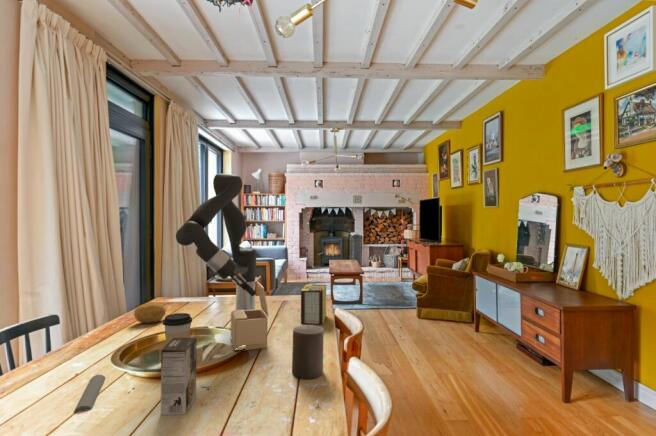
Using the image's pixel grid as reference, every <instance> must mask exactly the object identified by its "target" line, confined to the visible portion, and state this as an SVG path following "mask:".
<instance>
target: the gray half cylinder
mask: <svg viewBox="0 0 656 436" xmlns="http://www.w3.org/2000/svg"><path fill="white" fill-rule="evenodd" d="M105 380H106V377H105V376H104V375H103V374H95V375H93V376H92V377H91V378H90V380H89V381H88V383H87V385H86V387H85V389H84V390H83V393H82V395H81V397H80V398H79V401H78V403H77V405H76V406H75V409H74V410H73V413H75V412H82V411H86V410H87V411H88V410H92V409H93V408H94V406H95V404H96V401H97V399H98V396H99V394H100V392H101V390H102V387H103V385H104V382H105Z"/></svg>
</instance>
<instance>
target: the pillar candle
mask: <svg viewBox="0 0 656 436" xmlns="http://www.w3.org/2000/svg"><path fill="white" fill-rule="evenodd" d="M324 333H325V332H324V327H322V326H318V325H316V324H301V325H298V326H295V327H293V329H292V358H291V359H292V361H291V372H292V373H291V374H292V375H293V377H294V378H298V379H301V380H312V379H318V378H319V377H322V375H323V373H324Z"/></svg>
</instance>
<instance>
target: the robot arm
mask: <svg viewBox="0 0 656 436" xmlns="http://www.w3.org/2000/svg"><path fill="white" fill-rule="evenodd" d="M212 181H213V183H212V184H213V190H214V193H215V196H213V197H211V198H208V199H207V200H205V201H204V202H202V203H201V204H200V205H199V206H198V207H197V208H196V209H195V211H194V212H193V213H192V214H191V216H190V217H189V218H188V219H187V221H185V222H184V223H183V225H181V227H179V229H178V230H177V231H176V233H175V239H176V242H177V243H178V244H179V245H180V246H185V247H186V246H190V245H192V244H194V246H196V250H195V251H196V252H195V253H196V255H197V256H198V257H199V259H201V260H202V261H203V262H204V263H206V265H207V266H208V267H209V269H211V270H212V271H213V272H214V273H215V274H216V275H218V277H220V278H221V279H222V280H226V279H228V277H230V282H232V283H234V284H235V288H236V289H235V291H236V292H235V310H254V309H256V294H257V292H256V273H257V272H256V270H257V251H256V250H255V249H254V248H241V246H240V243H241V241H242V239H243V238H244V237H245V234H246V232H247V224H246V223H247V222H246V218H245V216H244V213H243V212H242V210H241V209H240V208H239V207H238V206H237V205H236V204H235V203H234V201H233V200H234V199H235V198H236V197H237V196H238V195H239V194H240V193H241V191H242V189H243V180H242V177H241V176H239V175H237V174H232V173H223V172H222V173H217V174H215V175H214V178H213V180H212ZM220 211H221V213H222V216H223V221H224V225H225V230H226V233H227V236H228V239H229V242H230V250H231V257H232V258H231V257H230V256H229V255H228V254H227V253H225V252H224V251H223V250H222V249H220V248H219V247H218V245H217V244H215V243H214V242H213V241H212V239H211V237H210V236H209V235H208V233H207V231H206V230H205V228H206V227H207V226H208V225H210V223H211V222H212V221H213V219H214V218H215V217H216V216H217V214H218V213H219V212H220ZM237 268H247V270H245V271H244V272H243V273H242V272H241V273H240V272H239V271H237V272H236V271H235V270H236V269H237Z"/></svg>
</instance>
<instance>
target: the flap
mask: <svg viewBox="0 0 656 436" xmlns="http://www.w3.org/2000/svg"><path fill="white" fill-rule="evenodd" d="M256 285H257V291H258V296H259V301H260V303H259V304H260V309H261V310H262V311H263V312H264V314H265V315H266V317H269V310H268V303H267V296H266V292H265V291H266V290H265V288H264V286H263V285H262V284H261V283H260V281H256Z"/></svg>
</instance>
